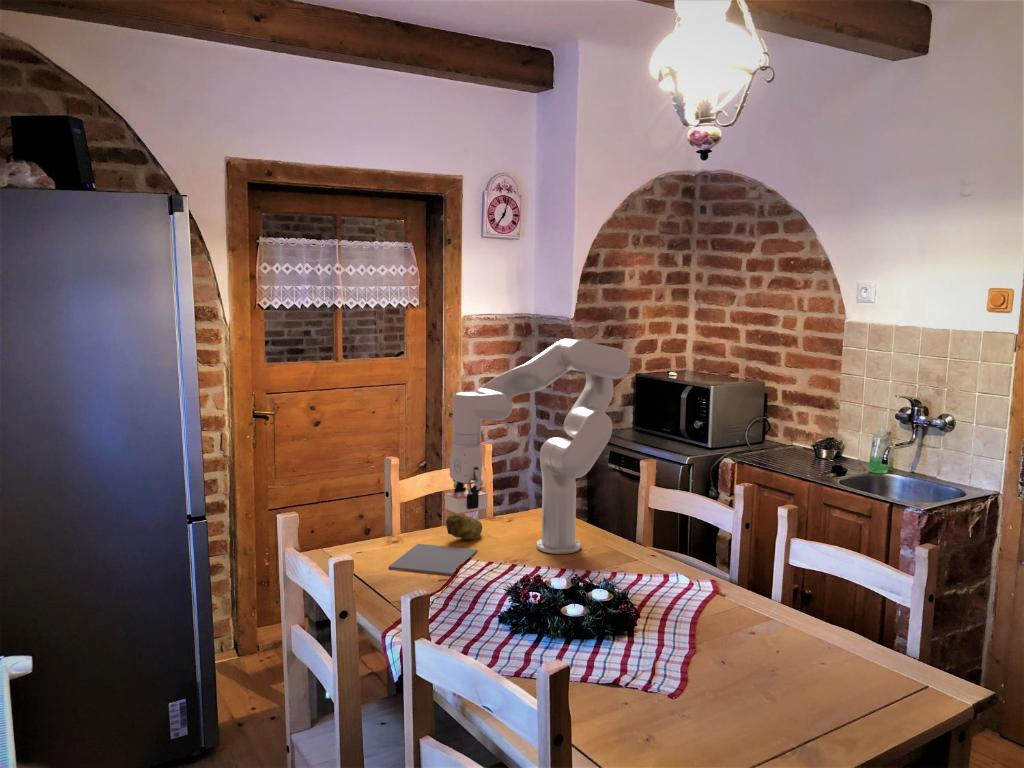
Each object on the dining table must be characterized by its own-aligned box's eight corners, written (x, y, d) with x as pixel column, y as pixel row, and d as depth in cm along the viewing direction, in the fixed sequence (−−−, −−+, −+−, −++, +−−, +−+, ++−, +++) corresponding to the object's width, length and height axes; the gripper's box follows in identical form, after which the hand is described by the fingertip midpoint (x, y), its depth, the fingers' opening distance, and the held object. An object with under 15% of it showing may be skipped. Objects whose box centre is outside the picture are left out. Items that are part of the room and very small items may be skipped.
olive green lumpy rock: (491, 539, 242) (491, 512, 241) (452, 546, 236) (452, 519, 235) (477, 531, 249) (477, 506, 248) (439, 538, 242) (439, 512, 242)
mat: (417, 545, 236) (417, 543, 236) (477, 551, 231) (477, 549, 231) (388, 568, 217) (388, 566, 217) (453, 575, 212) (453, 573, 212)
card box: (474, 503, 226) (474, 489, 225) (487, 508, 221) (487, 493, 220) (445, 508, 220) (445, 493, 219) (457, 513, 215) (457, 498, 215)
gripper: (439, 435, 224) (438, 499, 226) (470, 445, 209) (469, 514, 211) (463, 432, 228) (462, 496, 230) (495, 443, 213) (494, 511, 215)
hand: (466, 504), depth 220 cm, fingers closed on card box, 6 cm apart
